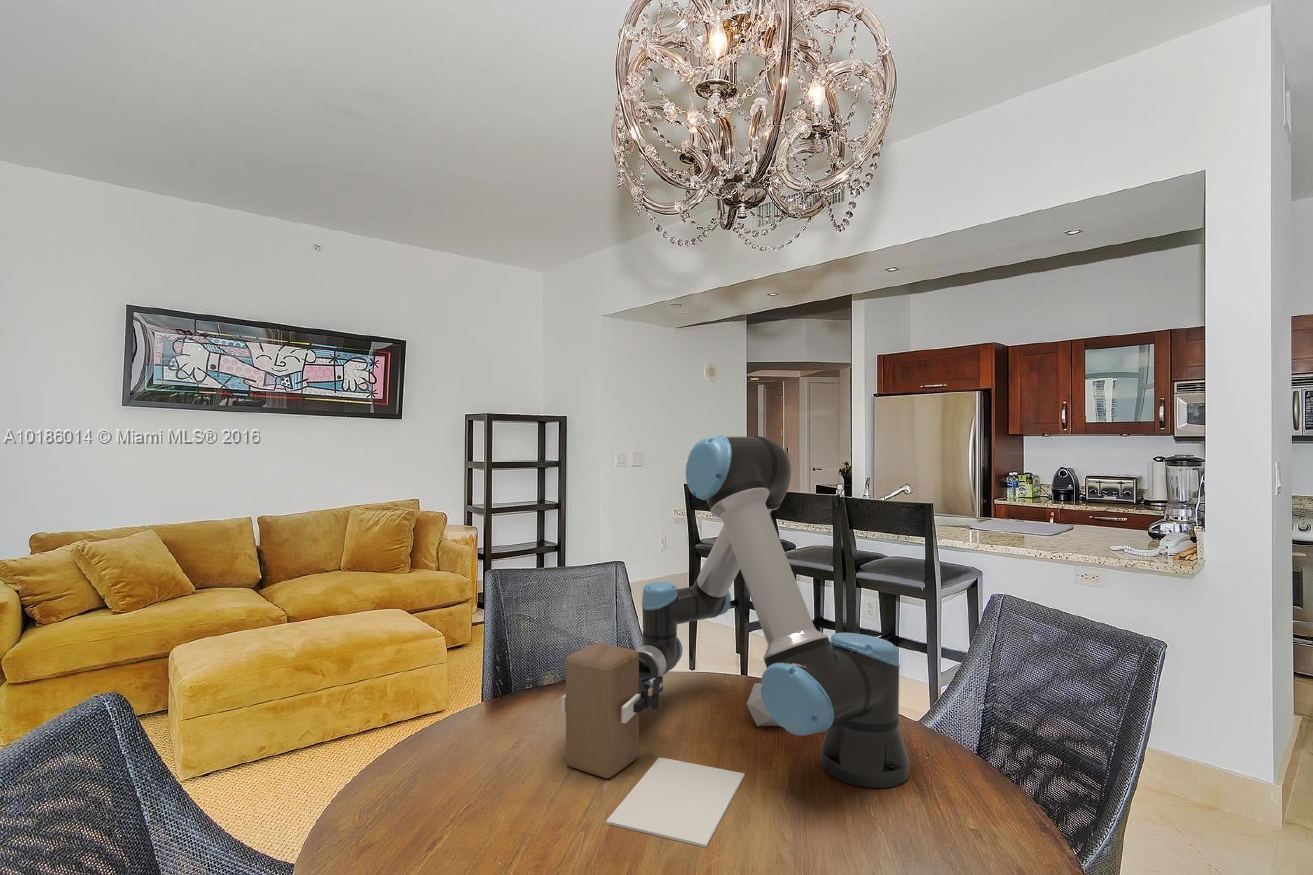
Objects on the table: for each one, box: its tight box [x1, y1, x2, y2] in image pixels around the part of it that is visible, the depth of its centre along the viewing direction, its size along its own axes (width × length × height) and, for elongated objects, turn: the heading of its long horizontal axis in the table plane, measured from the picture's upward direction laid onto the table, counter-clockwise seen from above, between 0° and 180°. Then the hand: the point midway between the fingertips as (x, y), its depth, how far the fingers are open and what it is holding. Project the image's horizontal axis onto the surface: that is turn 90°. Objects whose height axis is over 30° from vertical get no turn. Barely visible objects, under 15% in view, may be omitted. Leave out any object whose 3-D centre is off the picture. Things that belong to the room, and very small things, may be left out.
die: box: [746, 682, 780, 727], centre depth 138 cm, size 8×9×10 cm
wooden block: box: [565, 642, 640, 779], centre depth 121 cm, size 10×10×20 cm
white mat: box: [605, 756, 745, 848], centre depth 109 cm, size 16×22×1 cm
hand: (592, 709), depth 118 cm, fingers closed on wooden block, 11 cm apart
